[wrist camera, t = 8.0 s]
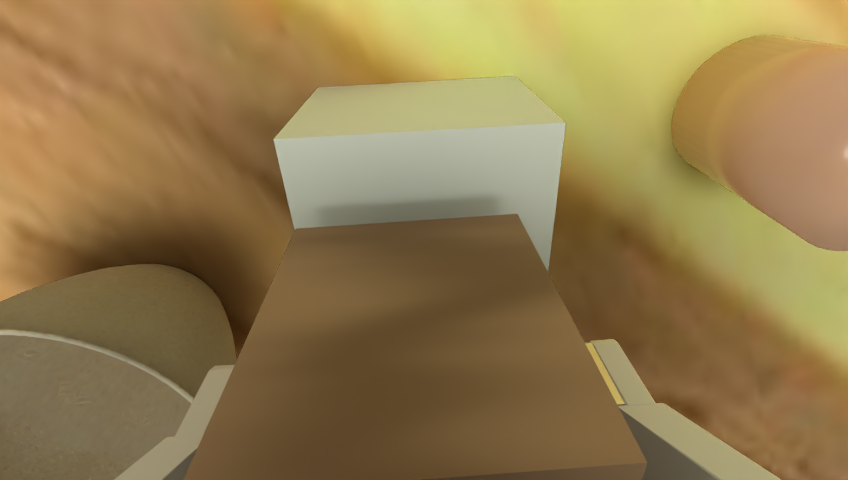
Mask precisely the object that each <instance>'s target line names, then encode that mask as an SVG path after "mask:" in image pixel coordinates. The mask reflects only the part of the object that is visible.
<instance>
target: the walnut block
mask: <svg viewBox="0 0 848 480" xmlns="http://www.w3.org/2000/svg"><path fill="white" fill-rule="evenodd" d="M646 466H647V461H646V459H645V457H644V455H643V453H642V451H641V449H640V447H639V445H638V443H637V441H636V440H635V438H634V436H633V434H632V432H631V430H630V428H629V426H628V424H627V422H626V420H625V419H624V417H623V415H622V413H621V411H620V409H619V407H618V405H617V403H616V401H615V399H614V397H613V396H612V394H611V392H610V390H609V388H608V386H607V384H606V382H605V380H604V378H603V376H602V375H601V373H600V371H599V369H598V367H597V365H596V363H595V361H594V359H593V357H592V355H591V353H590V352H589V350H588V348H587V346H586V344H585V342H584V340H583V338H582V336H581V334H580V332H579V331H578V329H577V327H576V325H575V323H574V321H573V319H572V317H571V315H570V313H569V311H568V309H567V308H566V306H565V304H564V302H563V300H562V298H561V296H560V294H559V292H558V290H557V288H556V287H555V285H554V283H553V281H552V279H551V277H550V275H549V273H548V271H547V269H546V267H545V265H544V264H543V262H542V260H541V258H540V256H539V254H538V252H537V250H536V248H535V246H534V244H533V243H532V241H531V239H530V237H529V235H528V233H527V231H526V229H525V227H524V225H523V223H522V221H521V220H520V218H519V216H518V214H505V215H490V216H475V217H461V218H446V219H431V220H416V221H401V222H386V223H372V224H357V225H342V226H327V227H312V228H297V229H295V232H294V234H293V236H292V238H291V240H290V243H289V245H288V247H287V249H286V252H285V254H284V256H283V258H282V261H281V263H280V265H279V267H278V270H277V272H276V274H275V276H274V278H273V281H272V283H271V285H270V287H269V290H268V292H267V294H266V296H265V299H264V301H263V303H262V305H261V307H260V310H259V312H258V314H257V316H256V319H255V321H254V323H253V325H252V328H251V330H250V332H249V334H248V337H247V339H246V341H245V343H244V345H243V348H242V350H241V352H240V354H239V357H238V359H237V361H236V363H235V366H234V368H233V370H232V372H231V374H230V377H229V379H228V381H227V383H226V386H225V388H224V390H223V392H222V395H221V397H220V399H219V401H218V403H217V406H216V408H215V410H214V412H213V415H212V417H211V419H210V421H209V424H208V426H207V428H206V430H205V433H204V435H203V437H202V439H201V441H200V444H199V446H198V448H197V450H196V453H195V455H194V457H193V459H192V462H191V464H190V466H189V468H188V470H187V473H186V475H185V477H184V479H183V480H642V478H643V475H644V472H645V469H646Z"/></svg>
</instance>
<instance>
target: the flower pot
mask: <svg viewBox="0 0 848 480" xmlns="http://www.w3.org/2000/svg"><path fill="white" fill-rule="evenodd" d="M236 361H237V357H236V351H235V345H234V339H233V335H232V331H231V327H230V323H229V321H228V318H227V315H226V312H225V310H224V308H223V306H222V303H221V301H220V300H219V298H218V297H217V295H216V294H215V292H214V291H213V290H212V289H211V288H210V287H209V286H208V285H207V284H206V283H205V282H203V281H202V280H201V279H199V278H198V277H196V276H194V275H193V274H191V273H189V272H187V271H184V270H182V269H179V268H176V267H172V266H168V265H161V264H135V265H125V266H117V267H110V268H103V269H99V270H95V271H90V272H86V273H82V274H77V275H74V276H70V277H67V278H63V279H60V280H57V281H54V282H51V283H47V284H45V285H42V286H39V287H36V288H33V289H30V290H28V291H25V292H22V293H20V294H17V295H15V296H13V297H10V298H8V299H6V300H3V301H1V302H0V480H114V479H116V478H117V477H118V476H119V475H120V474H122V473H123V472H124V471H125V470H127V469H128V468H129V467H130V466H132V465H133V464H134V463H135V462H137V461H138V460H139V459H140V458H142V457H143V456H144V455H145V454H146V453H148V452H149V451H150V450H151V449H153V448H154V447H155V446H156V445H158V444H159V443H160V442H161V441H163V440H164V439H165V438H166V437H175V435H176V433H177V431H178V429H179V427H180V425H181V423H182V421H183V419H184V417H185V415H186V414H187V412H188V410H189V408H190V406H191V404H192V402H193V400H194V398H195V396H196V394H197V392H198V390H199V388H200V386H201V385H202V383H203V381H204V379H205V377H206V375H207V373H208V371H209V370H210V369H212V368H213V367H214V366H219V365H235V363H236Z"/></svg>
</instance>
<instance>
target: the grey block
mask: <svg viewBox="0 0 848 480" xmlns="http://www.w3.org/2000/svg"><path fill="white" fill-rule="evenodd" d="M565 126H566V122H565V121H563V120H562V119H561V118H560V117H559V116H558V115H557V114H556V113H555V112H554V111H553V110H551V109H550V108H549V107H548V106H547V105H546V104H545V103H544V102H543V101H542V100H541V99H539V98H538V97H537V96H536V95H535V94H534V93H533V92H532V91H531V90H530V89H529V88H527V87H526V86H525V85H524V84H523V83H522V82H521V81H520V80H519V79H518V78H517V77H515V76H507V77H490V78H472V79H455V80H437V81H420V82H402V83H385V84H367V85H350V86H332V87H318V88H317V89H316V90H315V91H314V93H313V94H312V95H311V96H310V97H309V98H308V100H307V101H306V102H305V103H304V104H303V105H302V107H301V108H300V109H299V110H298V111H297V112H296V114H295V115H294V116H293V117H292V118H291V119H290V121H289V122H288V123H287V124H286V125H285V126H284V128H283V129H282V130H281V131H280V132H279V133H278V135H277V136H276V137H275V138H274V139H273V140H274V144H275V148H276V153H277V157H278V161H279V166H280V170H281V174H282V178H283V183H284V187H285V191H286V196H287V200H288V204H289V209H290V213H291V217H292V222H293V226H294V230H295V229H297V228H312V227H327V226H342V225H357V224H372V223H386V222H401V221H416V220H431V219H446V218H461V217H475V216H490V215H505V214H518V216H519V218H520V220H521V221H522V223H523V225H524V227H525V229H526V231H527V233H528V235H529V237H530V239H531V241H532V243H533V244H534V246H535V248H536V250H537V252H538V254H539V256H540V258H541V260H542V262H543V264H544V265H545V267H546V269H547V271H548V270H549V261H550V253H551V244H552V236H553V227H554V219H555V210H556V202H557V194H558V185H559V177H560V168H561V160H562V151H563V143H564V134H565Z"/></svg>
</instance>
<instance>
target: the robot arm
mask: <svg viewBox="0 0 848 480" xmlns="http://www.w3.org/2000/svg"><path fill="white" fill-rule="evenodd" d="M584 342H585V344H586V346H587V348H588V350H589V352H590V353H591V355H592V357H593V359H594V361H595V363H596V365H597V367H598V369H599V371H600V373H601V375H602V376H603V378H604V380H605V382H606V384H607V386H608V388H609V390H610V392H611V394H612V396H613V397H614V399H615V401H616V403H617V405H618V407H619V409H620V411H621V413H622V415H623V417H624V419H625V420H626V422H627V424H628V426H629V428H630V430H631V432H632V434H633V436H634V438H635V440H636V441H637V443H638V445H639V447H640V449H641V451H642V453H643V455H644V457H645V459H646V461H647V466H646V469H645V472H644V475H643V478H642V480H781V479H780V478H778V477H777V476H775V475H773V474H772V473H770V472H769V471H767V470H766V469H764V468H763V467H761V466H760V465H758V464H757V463H755V462H753V461H752V460H750V459H749V458H747V457H746V456H744V455H743V454H741V453H740V452H738V451H737V450H735V449H734V448H732V447H730V446H729V445H727V444H726V443H724V442H723V441H721V440H720V439H718V438H717V437H715V436H714V435H712V434H711V433H709V432H707V431H706V430H704V429H703V428H701V427H700V426H698V425H697V424H695V423H694V422H692V421H691V420H689V419H688V418H686V417H684V416H683V415H681V414H680V413H678V412H677V411H675V410H674V409H672V408H671V407H669V406H668V405H666V404H664V403H655V401H654V400H653V398H652V397H651V395H650V393H649V392H648V390H647V388H646V387H645V385H644V384H643V382H642V380H641V379H640V377H639V376H638V374H637V372H636V371H635V369H634V368H633V366H632V364H631V363H630V361H629V359H628V358H627V356H626V355H625V353H624V351H623V350H622V348H621V347H620V345H619V343H618V342H617V341H615V340H614V339H605V340H592V341H588V342H587V341H584ZM234 366H235V365H219V366H214V367H213V368H212V369H210V370H209V371H208V373H207V375H206V377H205V379H204V381H203V383H202V385H201V386H200V388H199V390H198V392H197V394H196V396H195V398H194V400H193V402H192V404H191V406H190V408H189V410H188V412H187V414H186V415H185V417H184V419H183V421H182V423H181V425H180V427H179V429H178V431H177V433H176V435H175V437H166V438H165V439H164V440H163V441H161V442H160V443H159V444H158V445H156V446H155V447H154V448H153V449H151V450H150V451H149V452H148V453H146V454H145V455H144V456H143V457H142V458H140V459H139V460H138V461H137V462H135V463H134V464H133V465H132V466H130V467H129V468H128V469H127V470H125V471H124V472H123V473H122V474H120V475H119V476H118V477H117V478H116V479H114V480H183V479H184V477H185V475H186V473H187V470H188V468H189V466H190V464H191V462H192V459H193V457H194V455H195V453H196V450H197V448H198V446H199V444H200V441H201V439H202V437H203V435H204V433H205V430H206V428H207V426H208V424H209V421H210V419H211V417H212V415H213V412H214V410H215V408H216V406H217V403H218V401H219V399H220V397H221V395H222V392H223V390H224V388H225V386H226V383H227V381H228V379H229V377H230V374H231V372H232V370H233V368H234Z"/></svg>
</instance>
